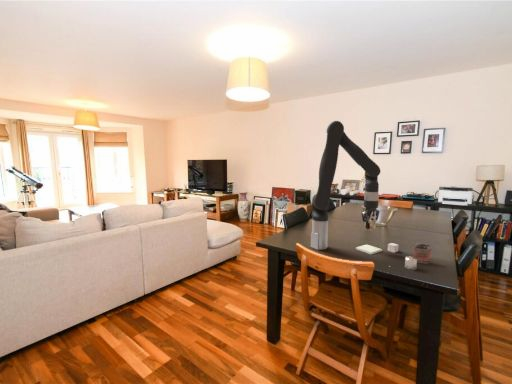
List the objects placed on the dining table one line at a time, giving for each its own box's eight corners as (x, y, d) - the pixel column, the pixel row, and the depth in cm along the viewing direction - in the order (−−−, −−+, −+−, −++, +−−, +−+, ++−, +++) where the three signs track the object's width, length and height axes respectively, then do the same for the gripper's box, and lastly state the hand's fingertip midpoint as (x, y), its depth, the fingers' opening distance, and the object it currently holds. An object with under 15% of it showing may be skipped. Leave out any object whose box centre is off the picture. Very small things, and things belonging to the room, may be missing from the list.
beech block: (370, 230, 144) (371, 222, 144) (364, 229, 148) (365, 220, 147) (375, 229, 146) (375, 221, 146) (369, 228, 150) (369, 219, 149)
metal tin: (413, 270, 121) (413, 260, 120) (402, 267, 125) (403, 257, 125) (418, 268, 124) (419, 258, 123) (408, 264, 128) (408, 255, 127)
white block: (394, 252, 145) (394, 246, 144) (387, 250, 148) (387, 244, 148) (398, 251, 147) (398, 244, 146) (391, 249, 150) (391, 242, 150)
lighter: (412, 262, 131) (414, 243, 130) (411, 259, 134) (412, 241, 133) (431, 264, 128) (432, 245, 127) (429, 261, 132) (430, 243, 130)
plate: (371, 254, 142) (371, 252, 142) (356, 249, 150) (356, 247, 150) (381, 251, 147) (381, 249, 147) (366, 246, 155) (366, 244, 155)
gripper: (373, 197, 152) (371, 225, 154) (357, 199, 144) (356, 228, 147) (384, 199, 145) (383, 227, 147) (369, 201, 138) (367, 231, 140)
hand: (369, 228), depth 147 cm, fingers closed on beech block, 4 cm apart
